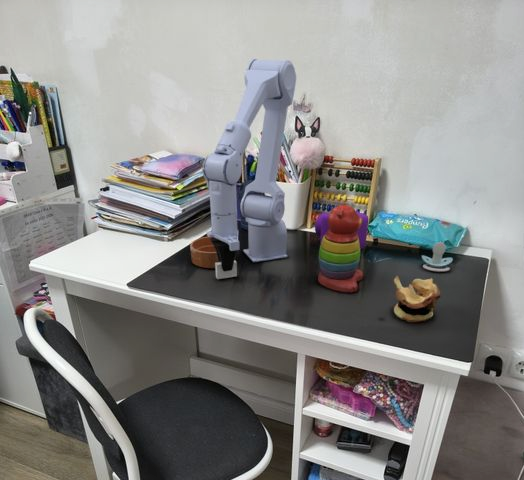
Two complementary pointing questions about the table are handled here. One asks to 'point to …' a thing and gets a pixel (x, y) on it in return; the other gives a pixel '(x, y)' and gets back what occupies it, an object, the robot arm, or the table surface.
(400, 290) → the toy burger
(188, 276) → the table surface
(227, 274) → the eraser
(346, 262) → the stacking bear
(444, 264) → the pacifier
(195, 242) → the bowl
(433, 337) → the table surface
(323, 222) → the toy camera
